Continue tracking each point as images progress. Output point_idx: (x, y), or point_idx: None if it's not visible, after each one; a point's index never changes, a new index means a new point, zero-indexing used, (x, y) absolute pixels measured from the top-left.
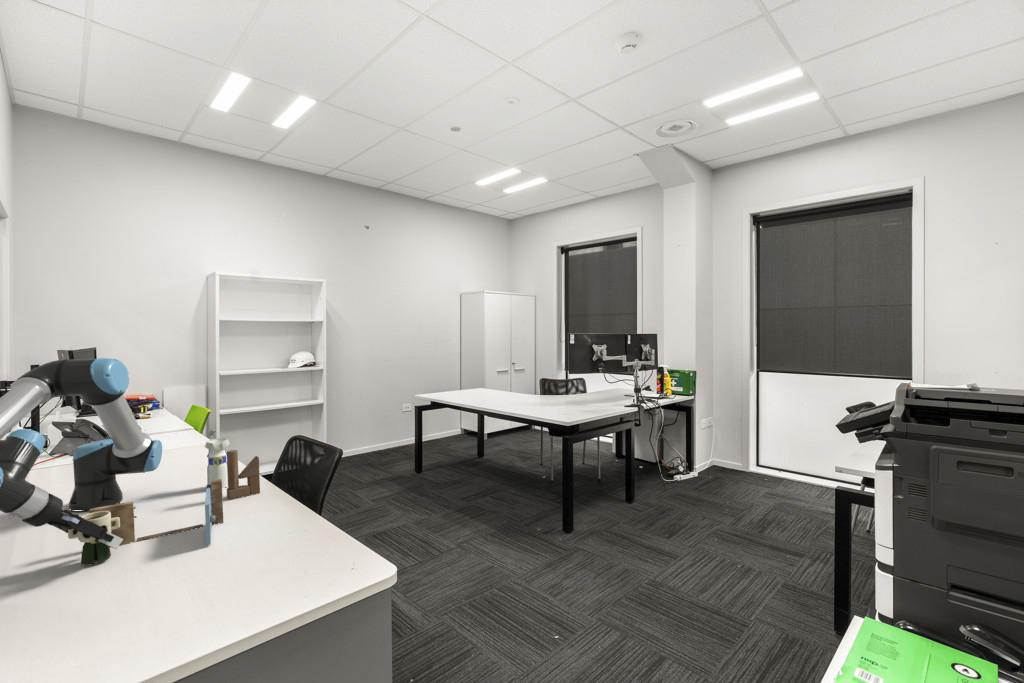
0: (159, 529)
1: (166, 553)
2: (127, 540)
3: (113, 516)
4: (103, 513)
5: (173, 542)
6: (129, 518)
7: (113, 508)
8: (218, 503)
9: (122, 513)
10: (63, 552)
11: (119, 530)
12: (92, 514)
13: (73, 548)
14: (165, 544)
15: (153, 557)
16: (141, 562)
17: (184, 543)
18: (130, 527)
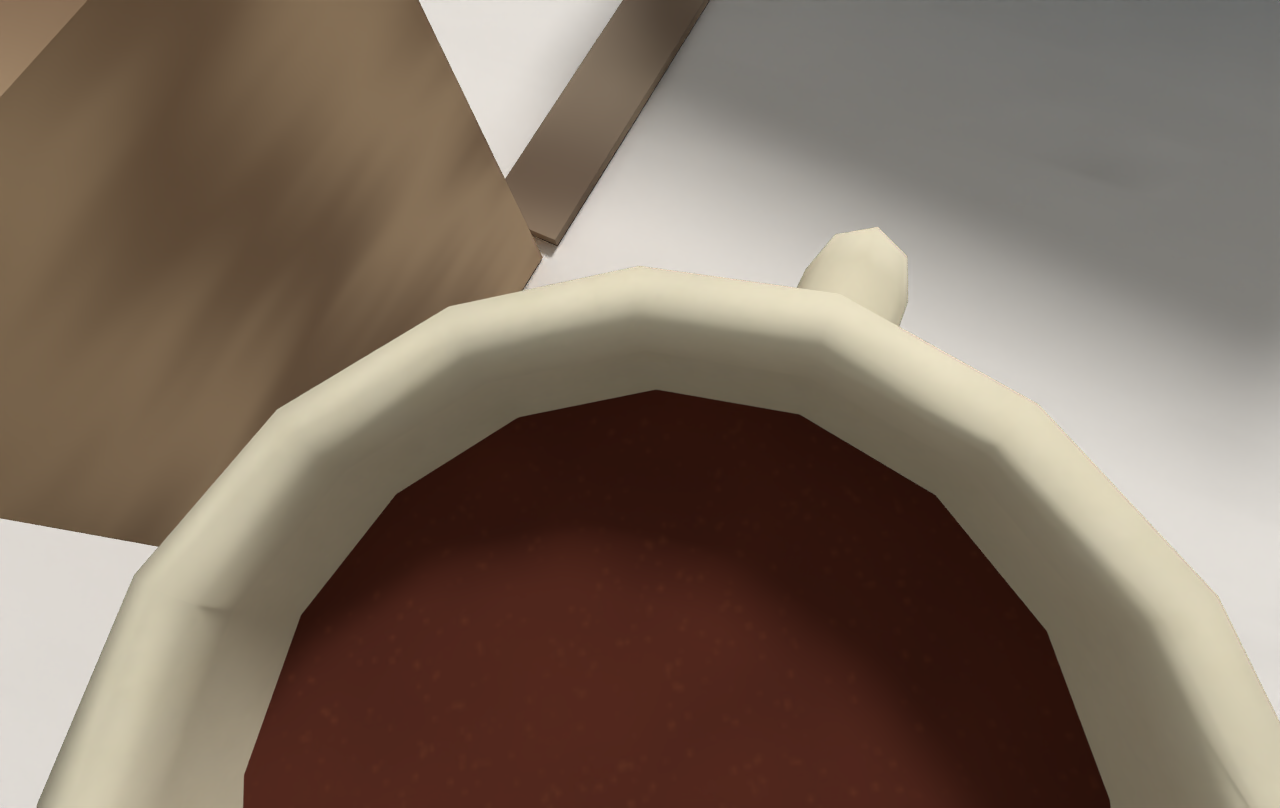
0: (460, 33)
1: (1205, 230)
2: (500, 289)
3: (236, 197)
4: (465, 406)
5: (938, 88)
6: (415, 87)
7: (106, 70)
8: None
9: (299, 71)
10: (51, 732)
11: (409, 278)
12: (205, 674)
13: (60, 625)
14: (917, 143)
15: (1200, 339)
16: (1241, 463)
17: (1075, 49)
18: (470, 177)
